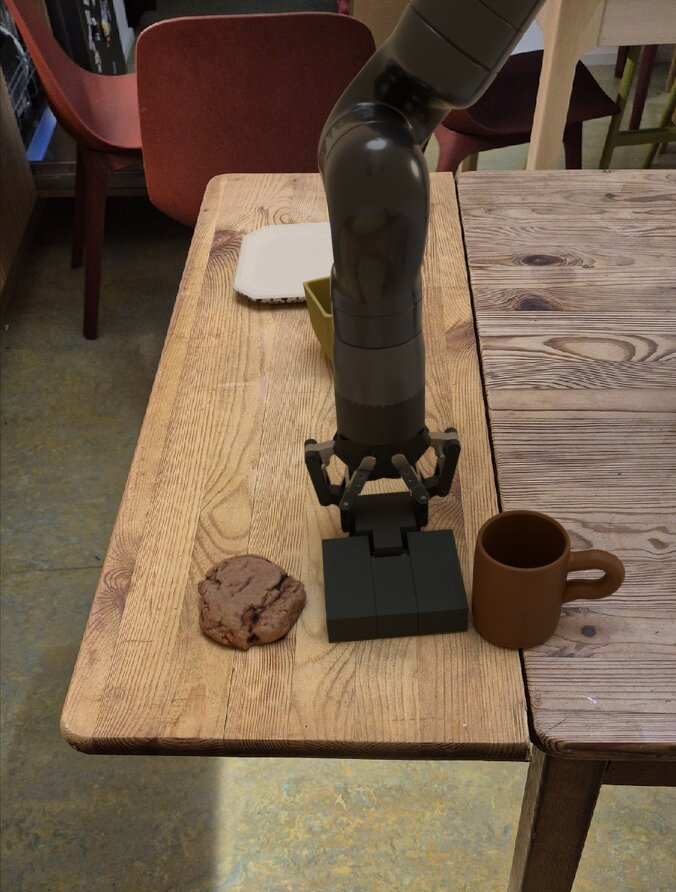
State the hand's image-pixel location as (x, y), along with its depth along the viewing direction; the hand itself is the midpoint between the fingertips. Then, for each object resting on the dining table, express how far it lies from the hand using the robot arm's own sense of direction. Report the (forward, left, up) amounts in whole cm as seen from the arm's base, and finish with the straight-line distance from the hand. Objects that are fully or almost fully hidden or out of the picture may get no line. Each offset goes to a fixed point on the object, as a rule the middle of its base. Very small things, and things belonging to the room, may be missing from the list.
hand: (384, 528), depth 88 cm
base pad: (0, +8, -1) cm, 8 cm away
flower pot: (+1, -31, -1) cm, 31 cm away
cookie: (+13, +8, -1) cm, 15 cm away
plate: (+5, -54, -1) cm, 54 cm away
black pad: (0, +1, -1) cm, 1 cm away
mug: (-12, +12, -1) cm, 18 cm away
